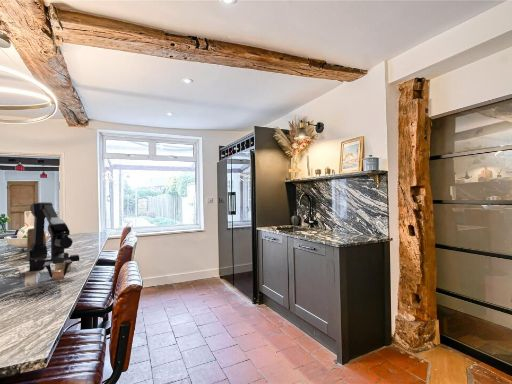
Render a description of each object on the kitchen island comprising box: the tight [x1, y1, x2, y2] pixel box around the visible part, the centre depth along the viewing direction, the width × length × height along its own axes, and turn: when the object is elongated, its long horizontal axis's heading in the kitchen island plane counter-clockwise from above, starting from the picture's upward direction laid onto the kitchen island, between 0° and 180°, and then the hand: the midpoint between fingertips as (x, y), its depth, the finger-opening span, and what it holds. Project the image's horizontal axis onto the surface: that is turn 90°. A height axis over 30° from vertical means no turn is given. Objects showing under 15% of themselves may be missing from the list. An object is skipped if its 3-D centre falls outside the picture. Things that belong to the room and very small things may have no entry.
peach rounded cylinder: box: [51, 270, 65, 280], centre depth 147 cm, size 5×5×4 cm
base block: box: [54, 263, 72, 272], centre depth 161 cm, size 7×7×4 cm
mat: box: [48, 266, 78, 276], centre depth 161 cm, size 13×13×1 cm
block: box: [26, 227, 47, 253], centre depth 203 cm, size 11×8×20 cm
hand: (57, 276), depth 147 cm, fingers closed on peach rounded cylinder, 5 cm apart
